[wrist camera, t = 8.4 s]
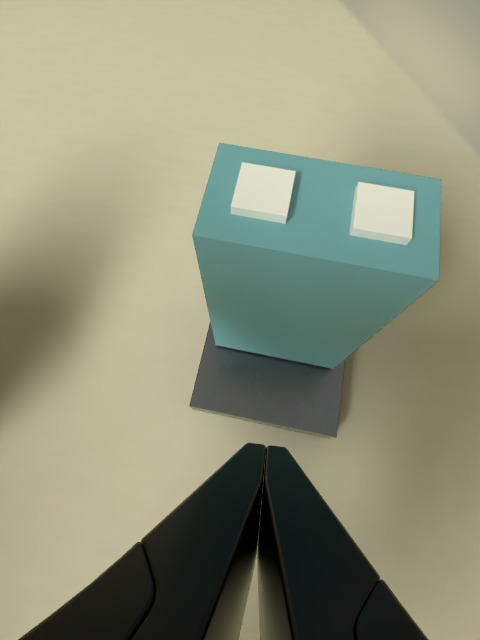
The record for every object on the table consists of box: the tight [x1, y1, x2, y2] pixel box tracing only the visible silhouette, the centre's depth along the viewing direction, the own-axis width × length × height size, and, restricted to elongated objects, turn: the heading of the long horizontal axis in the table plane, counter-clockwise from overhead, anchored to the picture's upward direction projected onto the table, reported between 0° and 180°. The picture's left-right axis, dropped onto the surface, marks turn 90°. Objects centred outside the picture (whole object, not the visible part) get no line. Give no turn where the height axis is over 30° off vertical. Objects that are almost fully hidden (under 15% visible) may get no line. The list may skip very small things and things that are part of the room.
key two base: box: [189, 321, 345, 438], centre depth 18 cm, size 8×7×4 cm
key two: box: [192, 143, 441, 369], centre depth 14 cm, size 3×6×10 cm, turn 79°
